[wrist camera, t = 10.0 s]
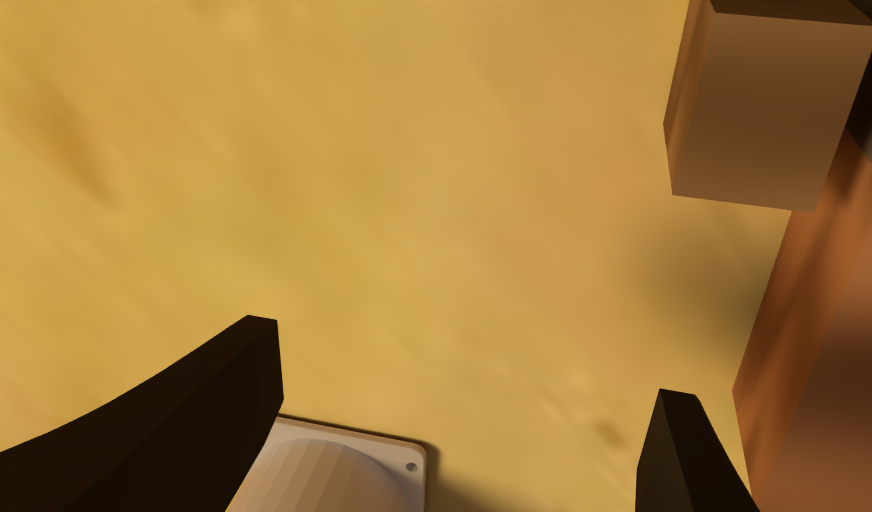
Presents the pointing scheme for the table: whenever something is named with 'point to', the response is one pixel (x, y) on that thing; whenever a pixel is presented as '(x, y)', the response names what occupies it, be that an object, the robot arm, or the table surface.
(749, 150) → the board
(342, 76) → the table surface
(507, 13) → the table surface
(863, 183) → the brown boxy piece
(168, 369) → the robot arm
